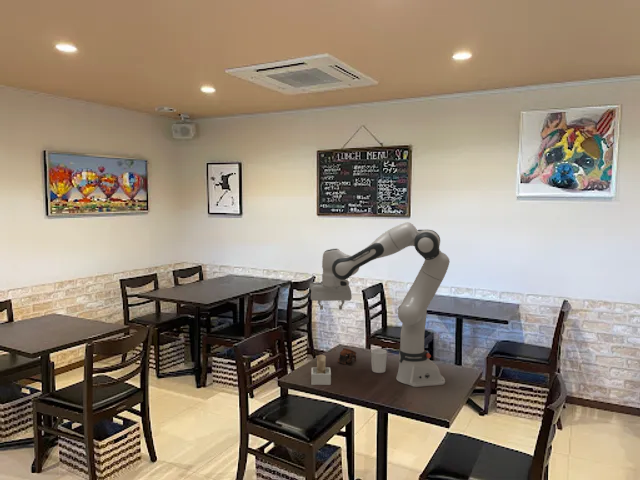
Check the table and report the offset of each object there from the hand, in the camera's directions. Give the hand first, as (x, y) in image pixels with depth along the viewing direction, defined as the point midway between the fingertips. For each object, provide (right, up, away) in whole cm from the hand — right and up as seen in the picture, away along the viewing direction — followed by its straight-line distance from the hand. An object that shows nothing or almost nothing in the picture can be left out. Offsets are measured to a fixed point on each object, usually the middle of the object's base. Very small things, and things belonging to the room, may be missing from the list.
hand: (331, 309), depth 234 cm
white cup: (+24, -31, +3) cm, 39 cm away
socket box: (-5, -32, -12) cm, 34 cm away
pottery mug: (+9, -30, +15) cm, 35 cm away
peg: (-5, -32, -12) cm, 34 cm away
